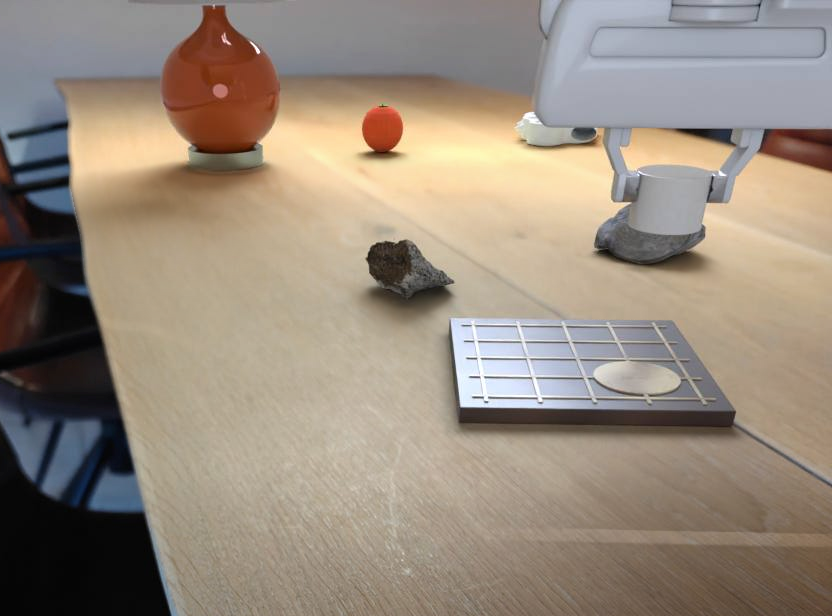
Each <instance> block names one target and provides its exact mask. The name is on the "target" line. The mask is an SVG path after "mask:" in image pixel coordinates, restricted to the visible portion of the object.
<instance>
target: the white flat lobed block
mask: <svg viewBox="0 0 832 616" xmlns="http://www.w3.org/2000/svg"><path fill="white" fill-rule="evenodd" d="M516 124H517V126H515V127H513V129H514V130H516V131H517V132H519V133H520V138H521V140H522V141H526V144H527V145H530V146H531V145H532V146H538V147H539V146H540V147H541V146H542V147H553V146H554V147H555V146H559V145H564V144H577V145H578V144H586V143H589V142H591V141H593V140H594V139H596V138H597V136H598V130H599V128H550V127H546V126H544V125H543V124H542V123H541V122H540V121H539V120H538V118H537V117H536V115H535V114H534V112H533V111H530V112H527V113H525V114H523V117H522V120H520V121H518V122H516Z"/></svg>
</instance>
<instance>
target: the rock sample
mask: <svg viewBox="0 0 832 616" xmlns="http://www.w3.org/2000/svg"><path fill="white" fill-rule="evenodd" d="M393 240H394V241H391V240H389V241H388V240H384V241H377V242H375V244H371V245H370V247H369V251H367V256H366V257H365V258H364V259H365V261H366V263H367V264H368V274H369V275H370V276H371V278H372V279H374V281H375V282H376V283H377V284H379V286H380V287H381V288H383V289H385V290H391V291H392V292H394V293H396V294H399V295H400V296H401V297H402V298H403V299H409V298H410V297H412V296H413V295H414V294H415V292H421V291H424V290H427V289H433V288H437V287H438V286H442V287H444V286H450V285H453V284H455V280H454V279H453V278H451V277H450V276H448V274H447V273H446V272H445V271H444V270H441V269H438V268H437V267H435V266H434V265H433V264H432V263H431V262H430V261H428V260H427V259H426V257H424V256H423V253H422V252H421V250H420V249H419V247H418V246H417V244H415V243H414V242H413V241H412V240H410V239H407V238H406V239H402V240H401V239H400V240H398V242H396V238H395V237H394V238H393Z"/></svg>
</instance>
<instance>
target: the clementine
mask: <svg viewBox="0 0 832 616" xmlns="http://www.w3.org/2000/svg"><path fill="white" fill-rule="evenodd" d="M403 133H404V123H403V120H402V116H401V115H400V113H399V112H398V111H397V110H396V109H395V108H394V107H393V106H391V105H388V104H384V103H382V104H378V105H375V106H373V107H372V108H371V109H370V110H368V111H367V112H366V114H365V115H364V118H363V120H362V123H361V134H362V137H363V140H364V142H365V144H366V145H367V146H368V147H369V148H370V149H371V150H373V151H375V152H378V153H387V152H389V151H392V150H394V148H396V147H397V146H398V144H399V143H400V141H401V139H402V137H403Z"/></svg>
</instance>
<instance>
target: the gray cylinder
mask: <svg viewBox="0 0 832 616" xmlns="http://www.w3.org/2000/svg"><path fill="white" fill-rule="evenodd" d="M636 171H637V173H638V174H640V175H641V177H640V183H639V187H638V188H637V189H636V191H637V193H638V194H637V199H636V202H630V204H631V207H630V213H629V218H628V226H629V227H631V228H633V229H635V230H638V231H641V232H646V233H651V234H660V235H686V234H692V233H696V232H698V231H700V230H701V227H702V224H703V222H704V217H705V212H706V207H707V204H708V203H707V199H708V195H709V190H710V186H711V181H712V176H713V173H712V172H710V171H711V170H708V169H705V168H702V167H698V166H692V165H683V164H650V165H644V166H640V167H637V169H636Z"/></svg>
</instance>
